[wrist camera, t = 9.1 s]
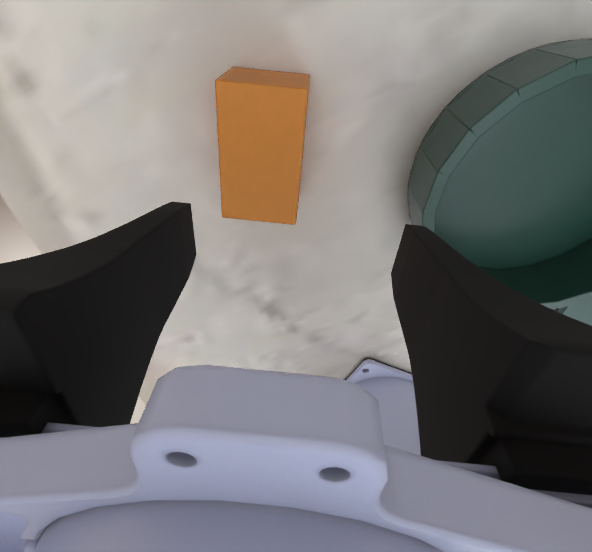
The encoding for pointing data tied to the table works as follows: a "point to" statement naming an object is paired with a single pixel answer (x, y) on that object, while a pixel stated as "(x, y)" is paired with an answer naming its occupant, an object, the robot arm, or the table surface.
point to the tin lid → (579, 311)
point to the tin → (516, 174)
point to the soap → (261, 142)
